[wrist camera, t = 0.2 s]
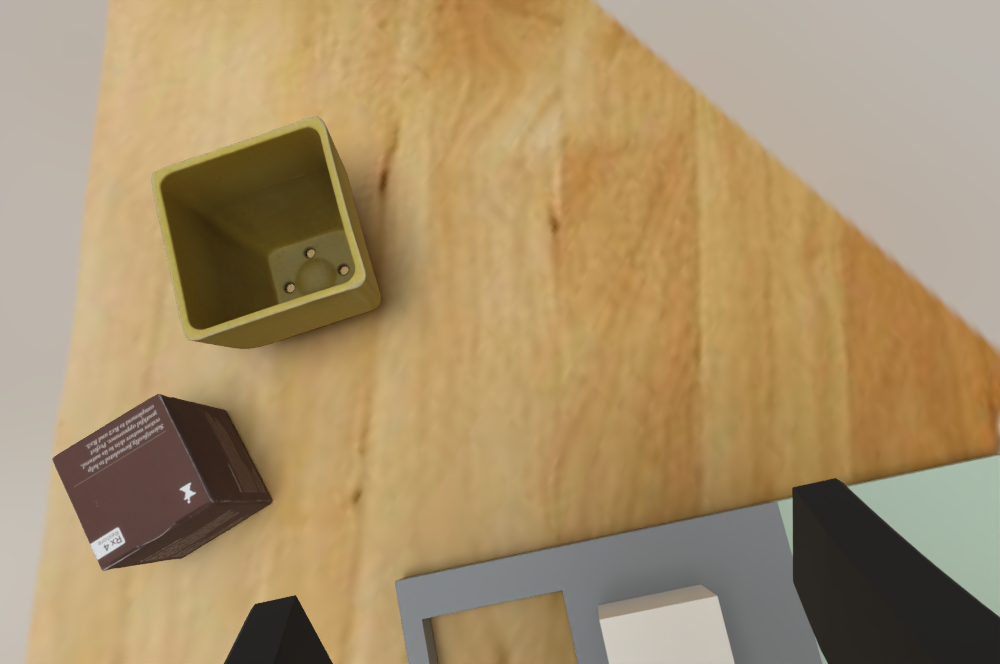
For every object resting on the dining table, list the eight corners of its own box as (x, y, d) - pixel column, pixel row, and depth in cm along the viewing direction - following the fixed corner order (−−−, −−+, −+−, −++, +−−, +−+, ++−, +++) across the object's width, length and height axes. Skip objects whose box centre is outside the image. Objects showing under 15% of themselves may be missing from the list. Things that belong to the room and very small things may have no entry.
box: (228, 407, 45) (161, 389, 38) (276, 503, 44) (215, 503, 36) (133, 464, 45) (47, 456, 38) (178, 562, 44) (98, 573, 36)
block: (728, 695, 38) (750, 723, 33) (622, 715, 38) (627, 747, 33) (700, 584, 39) (717, 595, 34) (597, 605, 39) (599, 620, 34)
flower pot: (227, 232, 47) (146, 170, 38) (370, 185, 47) (320, 111, 38) (261, 375, 45) (184, 343, 36) (410, 326, 45) (368, 283, 36)
